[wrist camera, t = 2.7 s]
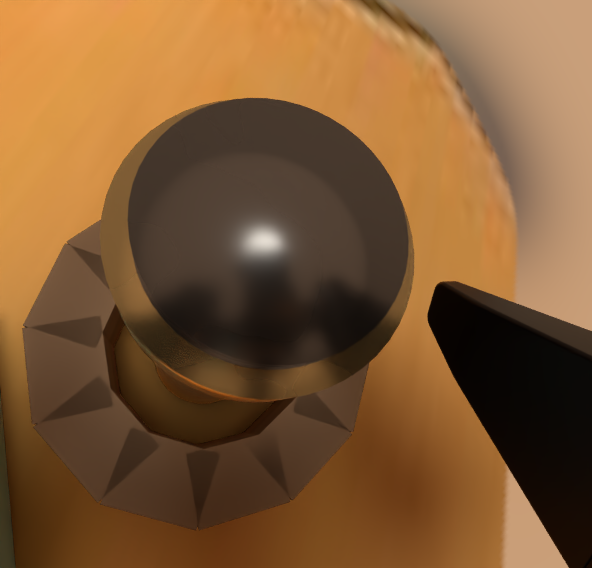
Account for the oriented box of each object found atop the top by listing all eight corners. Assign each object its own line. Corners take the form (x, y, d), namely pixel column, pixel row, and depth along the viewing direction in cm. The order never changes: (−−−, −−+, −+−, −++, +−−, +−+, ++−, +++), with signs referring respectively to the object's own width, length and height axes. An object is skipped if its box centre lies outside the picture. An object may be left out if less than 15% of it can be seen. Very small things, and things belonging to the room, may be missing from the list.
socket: (364, 459, 17) (402, 466, 14) (70, 547, 14) (47, 577, 11) (302, 212, 19) (325, 177, 17) (36, 241, 16) (10, 205, 14)
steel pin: (272, 398, 17) (473, 355, 6) (153, 427, 16) (123, 440, 5) (249, 289, 18) (384, 73, 7) (135, 307, 17) (71, 78, 6)
